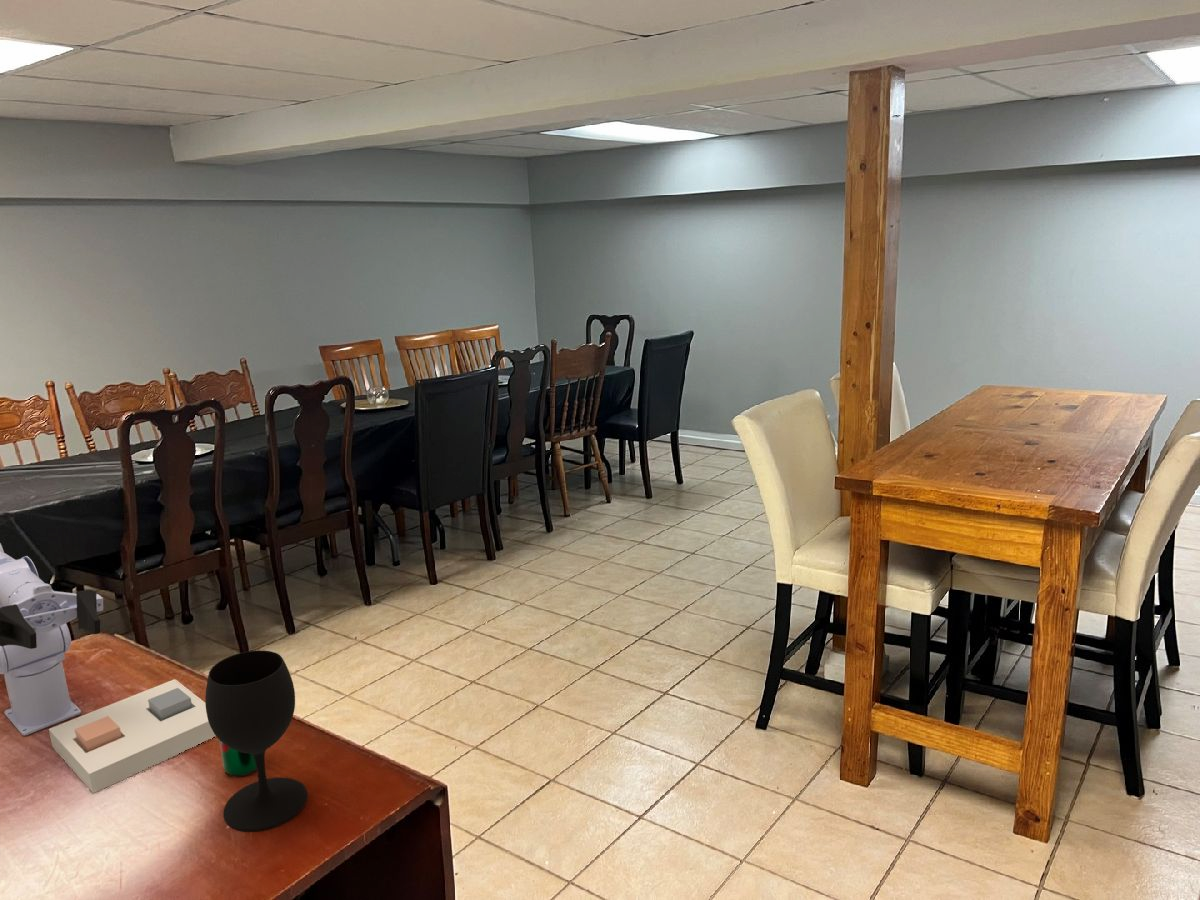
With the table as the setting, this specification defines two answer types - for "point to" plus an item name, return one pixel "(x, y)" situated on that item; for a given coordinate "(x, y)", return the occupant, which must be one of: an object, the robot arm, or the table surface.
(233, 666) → the wine glass
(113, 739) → the terracotta key
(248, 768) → the soda can
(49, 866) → the table surface
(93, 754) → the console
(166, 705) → the slate key
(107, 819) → the table surface
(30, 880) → the table surface
